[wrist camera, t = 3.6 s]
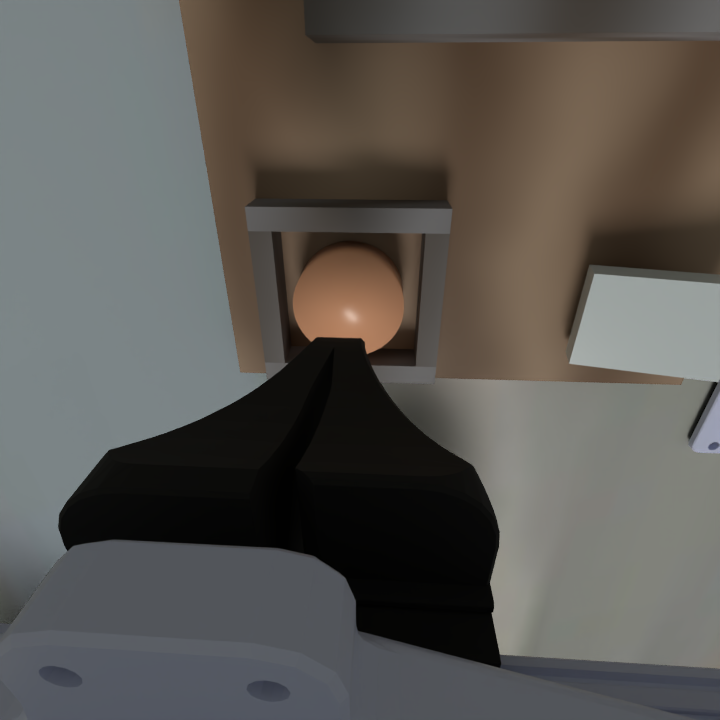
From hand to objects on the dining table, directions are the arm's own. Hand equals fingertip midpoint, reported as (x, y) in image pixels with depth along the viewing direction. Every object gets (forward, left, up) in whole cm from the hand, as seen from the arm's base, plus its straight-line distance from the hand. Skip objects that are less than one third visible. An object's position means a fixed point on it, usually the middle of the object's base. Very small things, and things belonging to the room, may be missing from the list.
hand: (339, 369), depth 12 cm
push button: (0, 0, -6) cm, 6 cm away
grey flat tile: (-11, 0, -5) cm, 12 cm away
